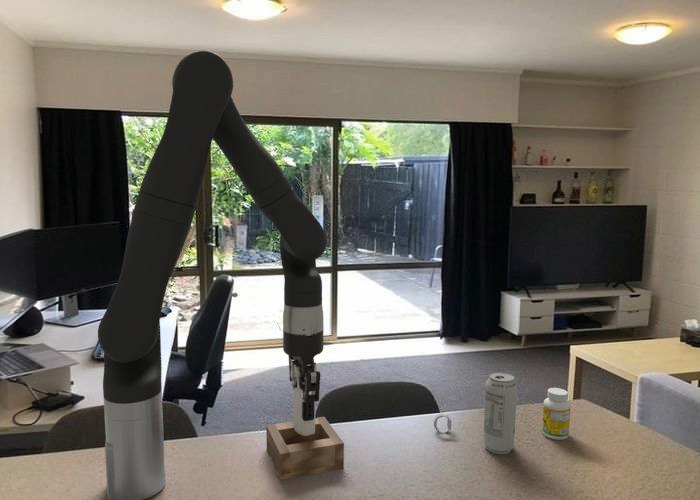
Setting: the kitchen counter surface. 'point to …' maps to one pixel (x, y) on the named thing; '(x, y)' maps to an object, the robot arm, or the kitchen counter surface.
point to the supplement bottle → (556, 414)
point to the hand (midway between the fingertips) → (303, 412)
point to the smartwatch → (447, 422)
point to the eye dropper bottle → (298, 423)
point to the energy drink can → (500, 413)
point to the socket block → (304, 449)
